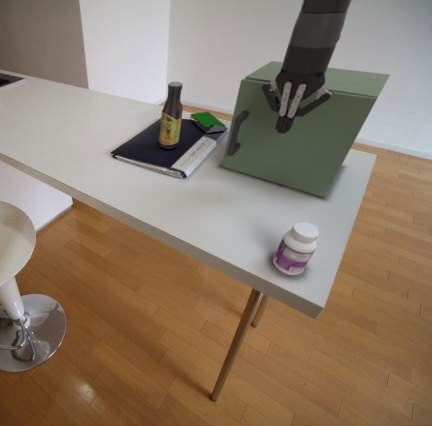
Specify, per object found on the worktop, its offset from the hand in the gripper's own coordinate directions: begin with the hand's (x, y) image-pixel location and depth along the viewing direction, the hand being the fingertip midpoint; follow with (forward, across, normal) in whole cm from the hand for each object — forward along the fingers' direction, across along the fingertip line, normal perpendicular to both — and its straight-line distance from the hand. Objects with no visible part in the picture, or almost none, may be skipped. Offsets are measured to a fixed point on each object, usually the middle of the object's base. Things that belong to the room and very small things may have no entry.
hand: (281, 132), depth 63 cm
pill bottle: (+17, +13, -20) cm, 29 cm away
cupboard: (+16, -1, +17) cm, 24 cm away
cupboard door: (+16, 0, +4) cm, 17 cm away
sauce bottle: (+16, -33, +7) cm, 37 cm away
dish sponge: (+16, -31, +29) cm, 45 cm away
